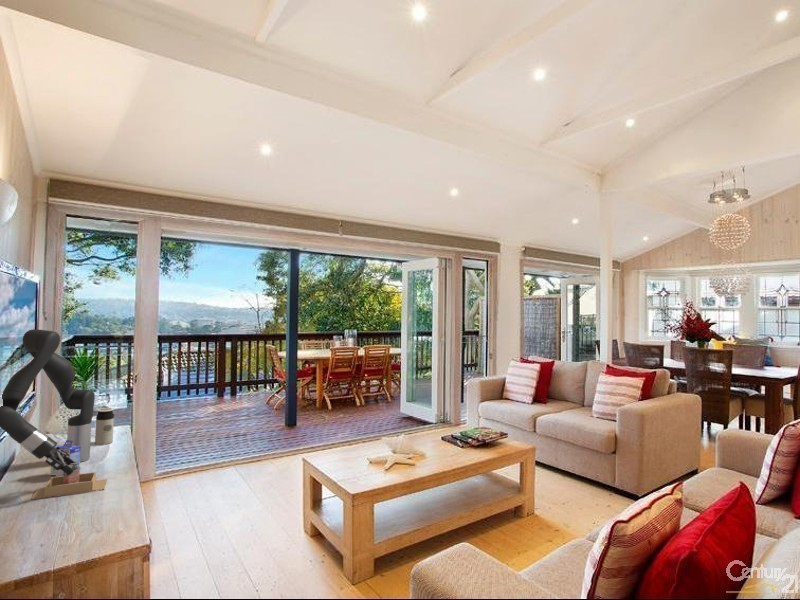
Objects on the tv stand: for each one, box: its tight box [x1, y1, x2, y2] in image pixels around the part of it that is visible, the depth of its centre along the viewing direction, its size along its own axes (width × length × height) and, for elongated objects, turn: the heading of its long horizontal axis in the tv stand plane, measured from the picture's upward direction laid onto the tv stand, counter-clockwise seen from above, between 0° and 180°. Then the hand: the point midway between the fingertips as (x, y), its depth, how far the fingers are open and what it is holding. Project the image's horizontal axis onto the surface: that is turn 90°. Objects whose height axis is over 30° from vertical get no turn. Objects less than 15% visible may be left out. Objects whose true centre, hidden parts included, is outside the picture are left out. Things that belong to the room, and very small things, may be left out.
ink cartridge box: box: [49, 439, 81, 477], centre depth 193 cm, size 10×6×14 cm, turn 78°
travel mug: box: [94, 407, 115, 446], centre depth 239 cm, size 8×8×18 cm
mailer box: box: [30, 471, 108, 500], centre depth 180 cm, size 15×23×4 cm, turn 119°
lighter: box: [63, 462, 81, 485], centre depth 179 cm, size 8×3×10 cm, turn 5°
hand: (73, 469), depth 179 cm, fingers closed on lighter, 7 cm apart
